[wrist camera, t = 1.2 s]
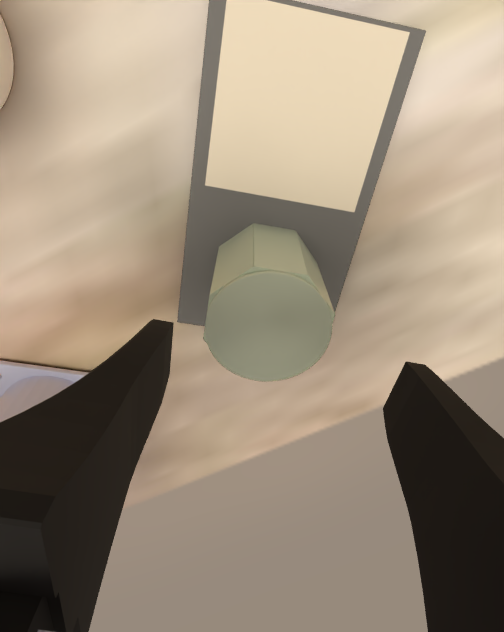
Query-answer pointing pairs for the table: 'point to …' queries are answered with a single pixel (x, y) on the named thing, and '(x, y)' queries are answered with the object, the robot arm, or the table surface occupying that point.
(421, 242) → the table surface
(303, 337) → the sage cup
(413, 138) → the table surface
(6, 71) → the cup
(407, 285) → the table surface
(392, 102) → the mat
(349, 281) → the table surface
